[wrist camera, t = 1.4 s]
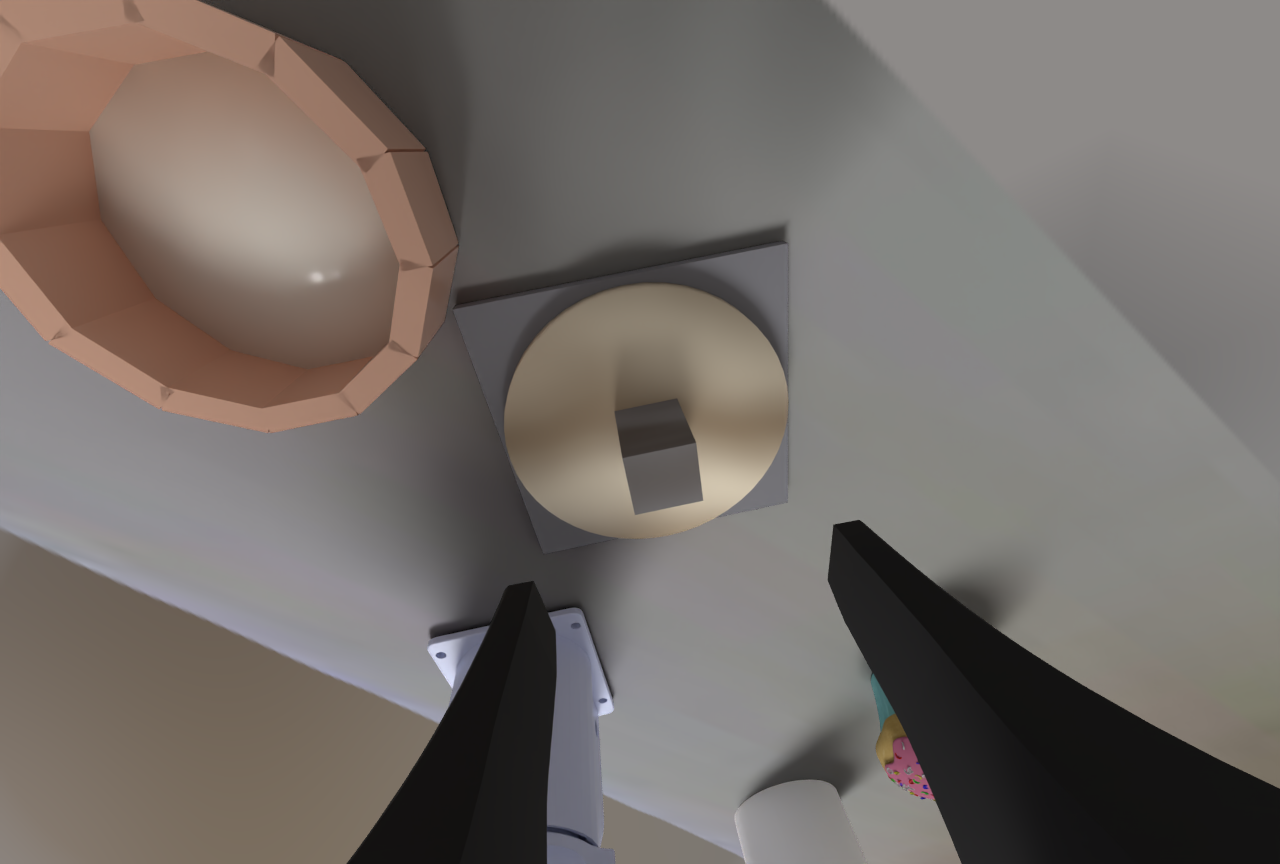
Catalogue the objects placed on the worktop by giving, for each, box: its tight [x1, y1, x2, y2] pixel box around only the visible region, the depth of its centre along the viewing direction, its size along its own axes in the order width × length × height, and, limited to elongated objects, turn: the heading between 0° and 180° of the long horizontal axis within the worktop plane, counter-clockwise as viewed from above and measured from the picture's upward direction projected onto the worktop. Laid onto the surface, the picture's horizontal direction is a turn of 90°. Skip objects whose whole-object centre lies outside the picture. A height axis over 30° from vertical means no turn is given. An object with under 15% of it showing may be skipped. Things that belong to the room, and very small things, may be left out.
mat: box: [452, 241, 788, 554], centre depth 19 cm, size 12×12×1 cm
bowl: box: [0, 0, 459, 433], centre depth 13 cm, size 10×10×4 cm
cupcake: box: [871, 674, 935, 801], centre depth 27 cm, size 9×8×12 cm
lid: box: [504, 282, 788, 539], centre depth 18 cm, size 11×11×4 cm
